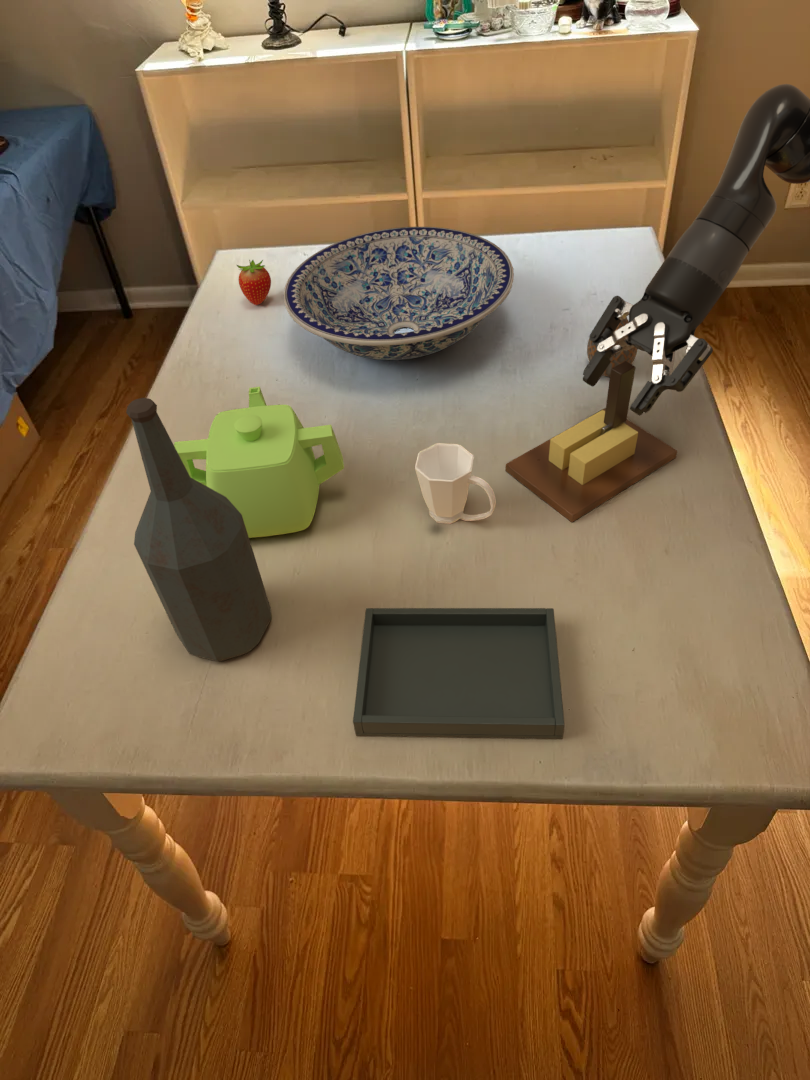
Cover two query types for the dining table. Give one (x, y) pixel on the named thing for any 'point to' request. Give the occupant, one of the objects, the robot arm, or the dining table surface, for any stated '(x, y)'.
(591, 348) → the vase
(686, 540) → the dining table surface
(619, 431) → the butter
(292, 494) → the teapot
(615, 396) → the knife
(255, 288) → the fruit
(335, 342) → the ceramic bowl
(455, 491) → the cup
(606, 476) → the board
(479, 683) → the tray
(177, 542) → the bottle
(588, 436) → the butter
